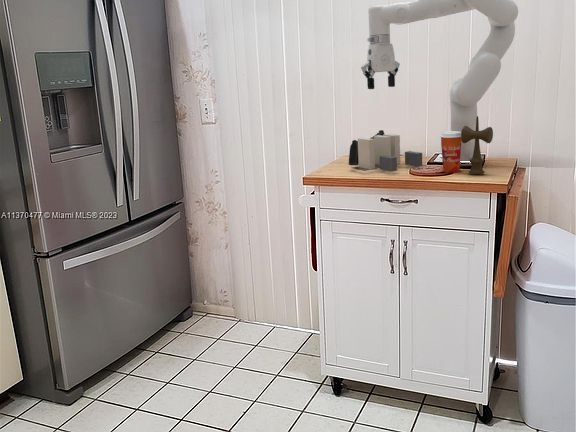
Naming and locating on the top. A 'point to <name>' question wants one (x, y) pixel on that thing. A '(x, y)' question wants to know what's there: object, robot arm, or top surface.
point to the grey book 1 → (388, 163)
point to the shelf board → (367, 169)
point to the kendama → (476, 145)
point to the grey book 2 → (413, 158)
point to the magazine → (354, 150)
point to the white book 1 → (366, 153)
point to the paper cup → (451, 151)
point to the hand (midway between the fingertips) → (381, 87)
